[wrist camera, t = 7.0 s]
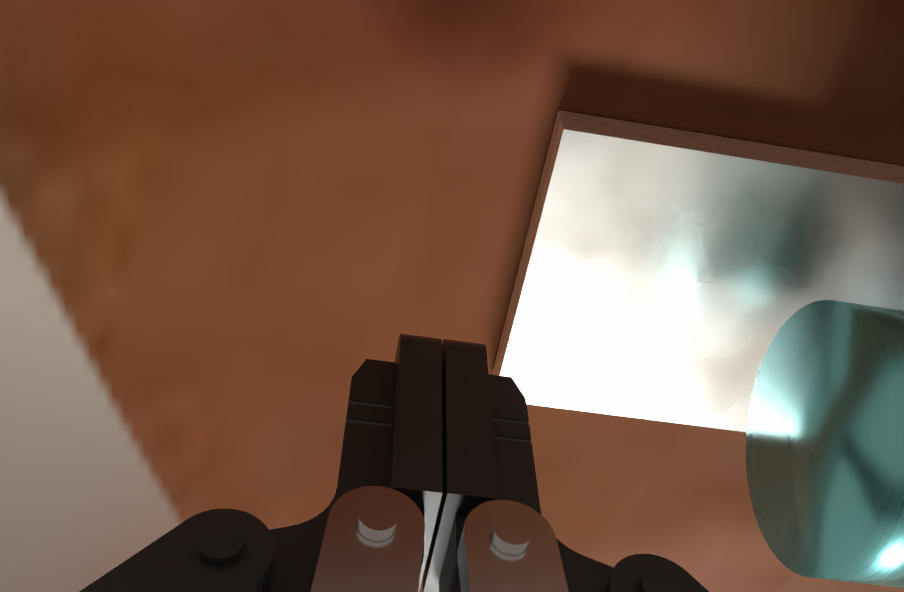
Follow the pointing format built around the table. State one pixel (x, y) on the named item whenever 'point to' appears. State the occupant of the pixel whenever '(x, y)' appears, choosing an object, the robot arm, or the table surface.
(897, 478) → the shaft
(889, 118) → the table surface
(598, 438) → the table surface
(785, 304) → the shaft housing
